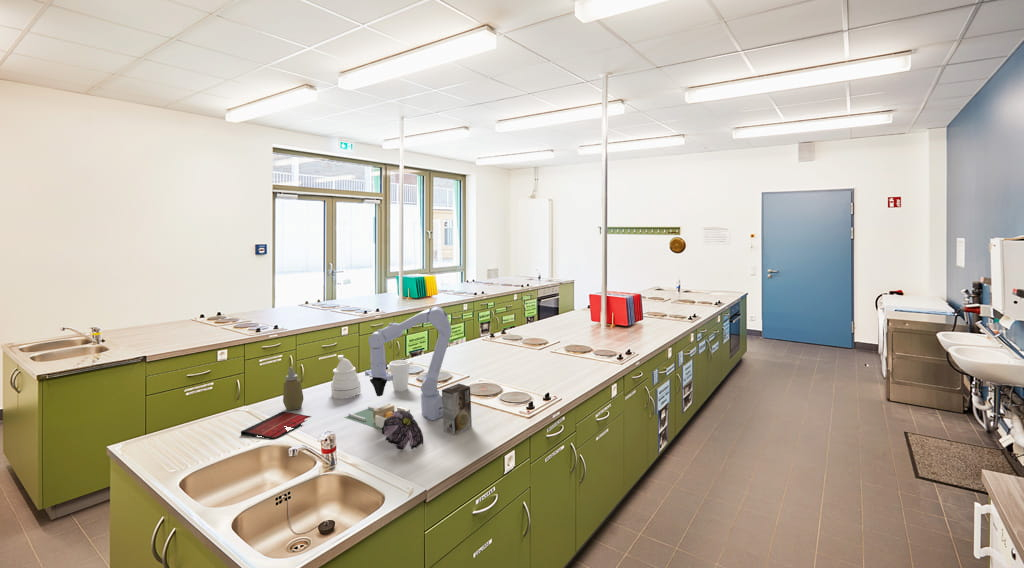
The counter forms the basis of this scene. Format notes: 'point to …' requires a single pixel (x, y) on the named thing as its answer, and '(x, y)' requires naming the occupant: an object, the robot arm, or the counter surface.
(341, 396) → the honey pot
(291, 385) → the squeeze bottle
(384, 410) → the block
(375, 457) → the counter surface
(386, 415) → the ball
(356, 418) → the pitch mat
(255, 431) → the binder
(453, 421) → the coffee box
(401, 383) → the foam cup
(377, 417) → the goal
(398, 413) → the decorative flower
